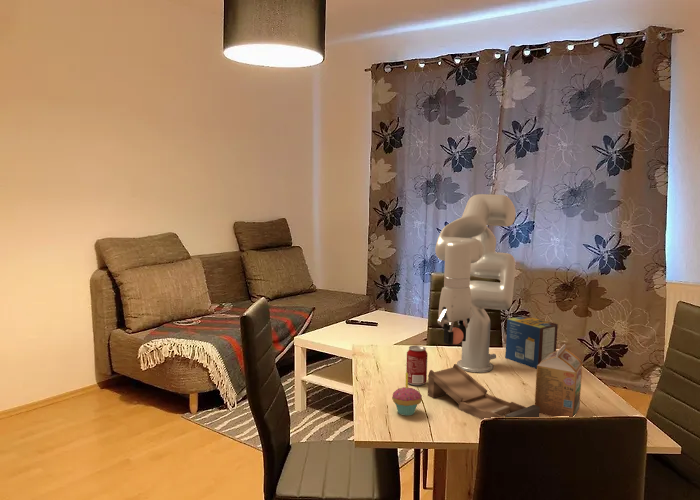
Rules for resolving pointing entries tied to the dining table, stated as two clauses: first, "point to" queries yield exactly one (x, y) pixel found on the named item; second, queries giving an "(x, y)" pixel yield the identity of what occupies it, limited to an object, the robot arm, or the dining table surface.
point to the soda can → (417, 365)
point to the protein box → (530, 340)
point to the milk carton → (559, 383)
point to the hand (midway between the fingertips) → (454, 341)
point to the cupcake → (406, 399)
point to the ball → (457, 335)
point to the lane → (474, 395)
